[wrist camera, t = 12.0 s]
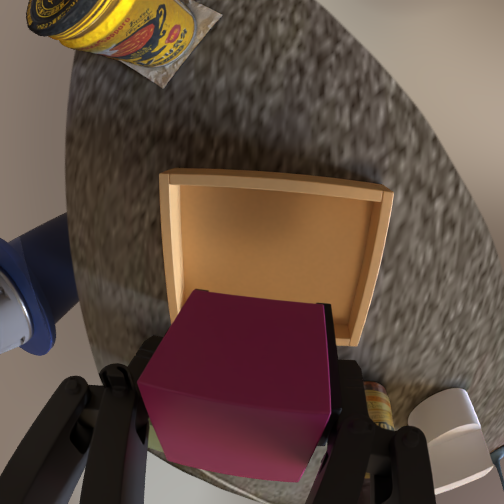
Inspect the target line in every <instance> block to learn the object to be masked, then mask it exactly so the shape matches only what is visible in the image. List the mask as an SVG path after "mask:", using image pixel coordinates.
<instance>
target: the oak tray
mask: <svg viewBox="0 0 504 504" xmlns="http://www.w3.org/2000/svg"><path fill="white" fill-rule="evenodd" d="M159 193H160V214H161V230H162V244H163V256H164V267H165V277H166V287H167V296H168V304H169V312H170V319H171V325H172V323H173V321H174V320H175V318H176V317H177V315H178V313H179V312H180V310H181V309H182V307H183V305H184V304H185V302H186V301H187V299H188V297H189V296H190V294H191V293H192V291H193V290H194V289H202V290H209V292H215V293H223V294H231V295H239V296H247V297H256V298H265V299H274V300H283V301H293V302H303V303H314V304H316V302H317V303H329V304H331V307H332V315H333V322H334V330H335V338H336V345H337V346H358V343H359V340H360V336H361V333H362V330H363V327H364V324H365V320H366V317H367V313H368V310H369V306H370V303H371V299H372V296H373V292H374V288H375V284H376V280H377V276H378V272H379V268H380V264H381V259H382V255H383V250H384V246H385V241H386V236H387V231H388V226H389V220H390V215H391V209H392V203H393V197H394V192H393V191H391V190H390V189H388V188H387V187H385V186H384V185H382V184H376V183H369V182H362V181H355V180H347V179H339V178H331V177H322V176H312V175H302V174H291V173H279V172H266V171H250V170H231V169H204V168H173V169H170V170H168V171H165V172H162V173H159Z"/></svg>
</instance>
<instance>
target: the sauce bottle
mask: <svg viewBox="0 0 504 504" xmlns="http://www.w3.org/2000/svg"><path fill="white" fill-rule="evenodd" d="M363 383H364V389H365V395H366V402H367V408H368V414H369V417H370V418H371V419H372V420H373V422H374V423H375V424H376V425H378V426H379V427H382V428H385V429H389V430H394V424H393V418H392V411H391V405H390V400H389V398H388V396H387V393H386V389H385V388H384V387H383V386H382V385H380V384H379V383H376V382H372V381H364V382H363ZM357 504H370V473H366V474H365V478H364V482H363V485H362V489H361V492H360V496H359V499H358V502H357Z"/></svg>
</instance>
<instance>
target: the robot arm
mask: <svg viewBox="0 0 504 504" xmlns="http://www.w3.org/2000/svg"><path fill="white" fill-rule="evenodd" d="M194 290H200V291H207V292H209V290H202V289H194ZM316 304H323V305H324V314H325V325H326V336H327V348H328V361H329V377H330V395H331V415H330V417H329V420H328V422H327V424H326V427H325V429H324V431H323V433H322V435H321V438H320V440H319V442H318V444H317V446H325V444H326V442H327V452H326V453H325V455H324V457H323V459H322V460H321V466H320V469H319V471H318V474H317V476H316V479H315V481H314V484H313V486H312V489H311V491H310V493H309V496H308V498H307V500H306V503H305V504H357V502H358V499H359V496H360V492H361V489H362V485H363V482H364V478H365V474H366V473H370V504H436V500H435V491H434V483H433V476H432V469H431V463H430V457H429V452H428V446H427V441H426V437H425V435H424V433H423V432H422V431H421V430H420V429H419V428H417V427H415V426H404V427H402V428H400V429H399V430H398V431H394V430H389V429H385V428H382V427H379V426H378V425H376V424H375V423H374V422H373V420H372V419H371V418H370V417H369V414H368V408H367V402H366V395H365V389H364V383H363V380H362V379H363V377H362V371H361V368H360V367H359V365H358V364H357V362H356V361H355V360H338V355H337V346H336V338H335V330H334V322H333V315H332V307H331V304H329V303H317V302H316ZM33 335H34V322H33V318H32V314H31V311H30V309H29V306H28V304H27V302H26V300H25V298H24V296H23V294H22V292H21V291H20V289H19V287H18V286H17V284H16V283H15V281H14V280H13V279H12V277H11V276H10V275H9V274H8V273H7V272H6V271H5V270H4V269H3V268H2V267H1V266H0V354H1V353H4V352H6V351H8V350H11V349H13V348H16V347H18V346H20V345H23V344H25V343H26V342H27V341H28V340H29V339H30V338H31V337H32V336H33ZM163 338H164V337H160V336H155V335H153V336H151V337H150V338H148V339H147V340H146V341H144V343H143V344H142V346H141V347H140V350H138V352H137V353H136V356H134V358H133V359H132V361H131V363H130V364H129V366H128V367H127V366H125V365H123V364H110V365H108V366H106V367H104V368H103V369H102V370H101V371H100V373H99V376H100V378H101V381H102V383H103V385H104V386H98V385H88V384H87V382H86V380H85V379H84V378H82V377H80V376H70V377H68V378H66V379H65V380H64V381H63V382H62V383H61V384H60V385H59V387H58V388H57V390H56V391H55V392H54V394H53V395H52V397H51V398H50V399H49V401H48V402H47V404H46V405H45V407H44V408H43V409H42V411H41V412H40V414H39V415H38V417H37V418H36V420H35V421H34V423H33V424H32V426H31V427H30V429H29V430H28V432H27V433H26V435H25V436H24V438H23V440H22V441H21V443H20V444H19V446H18V447H17V449H16V451H15V452H14V454H13V456H12V457H11V459H10V460H9V462H8V464H7V466H6V467H5V469H4V471H3V473H2V474H1V476H0V504H68V502H69V500H70V497H71V495H72V493H73V491H74V489H75V487H76V485H77V483H78V481H79V479H80V477H81V474H82V472H83V470H84V468H85V466H86V468H85V473H84V479H83V485H82V491H81V497H80V504H144V488H145V473H146V459H147V448H148V438H149V429H150V425H149V420H148V419H149V415H148V412H147V410H146V407H145V404H144V401H143V399H142V396H141V393H140V390H139V387H138V384H137V381H138V379H139V377H140V376H141V374H142V372H143V371H144V369H145V367H146V366H147V364H148V362H149V361H150V359H151V357H152V356H153V354H154V352H155V351H156V349H157V348H158V346H159V344H160V343H161V341H162V339H163Z"/></svg>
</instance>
